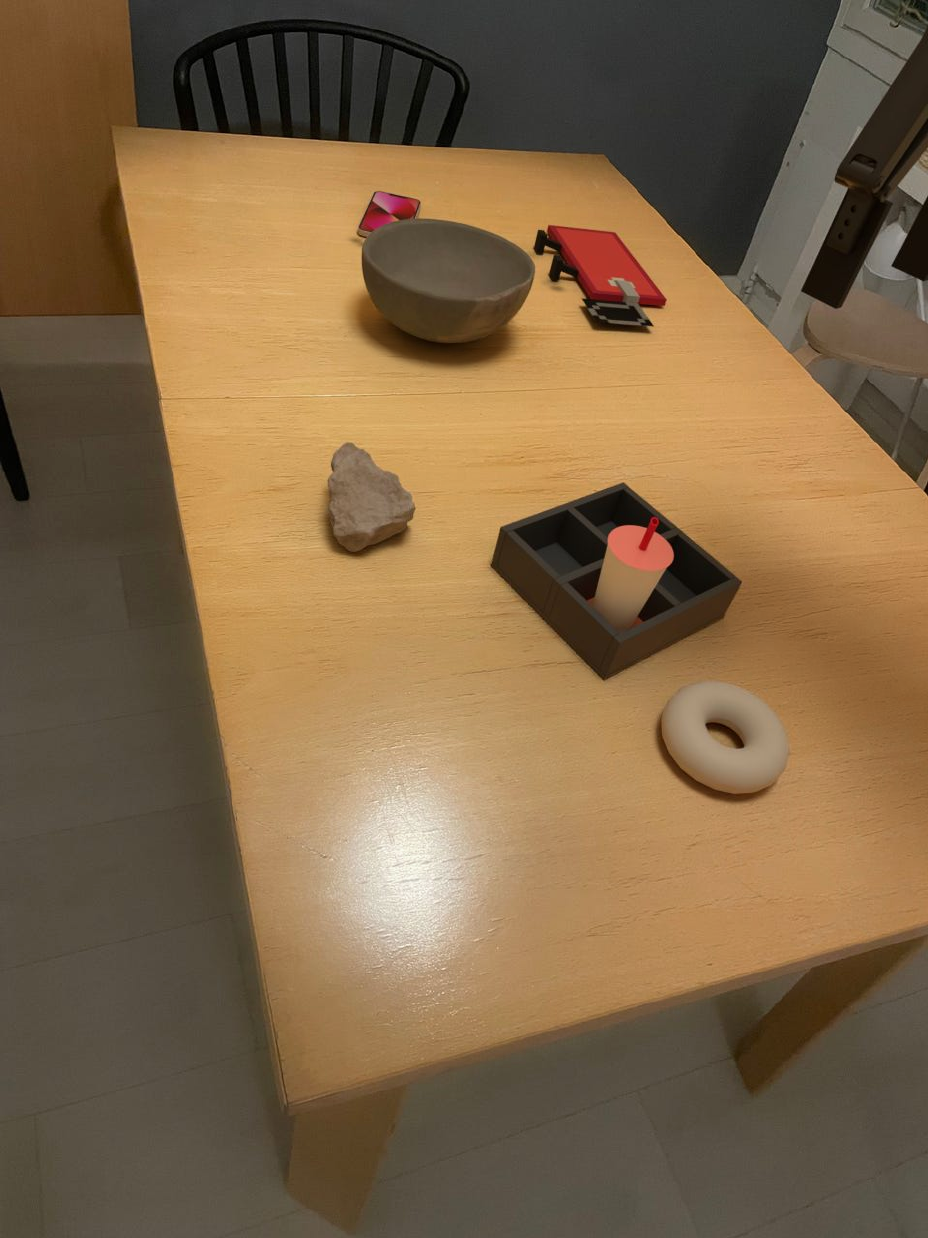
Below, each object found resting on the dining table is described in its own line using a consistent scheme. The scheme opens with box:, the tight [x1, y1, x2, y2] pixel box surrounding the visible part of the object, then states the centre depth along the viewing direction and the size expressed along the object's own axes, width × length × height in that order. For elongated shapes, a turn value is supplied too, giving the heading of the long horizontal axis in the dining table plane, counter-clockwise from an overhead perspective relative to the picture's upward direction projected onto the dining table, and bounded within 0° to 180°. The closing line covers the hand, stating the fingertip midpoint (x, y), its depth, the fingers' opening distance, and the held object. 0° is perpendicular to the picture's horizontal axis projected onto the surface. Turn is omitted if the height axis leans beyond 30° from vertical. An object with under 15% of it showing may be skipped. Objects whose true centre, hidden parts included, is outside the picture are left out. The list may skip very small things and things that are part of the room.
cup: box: [593, 517, 674, 633], centre depth 71 cm, size 5×5×12 cm
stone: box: [327, 441, 416, 553], centre depth 79 cm, size 10×8×6 cm
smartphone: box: [357, 190, 422, 238], centre depth 128 cm, size 7×1×15 cm
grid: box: [490, 481, 743, 681], centre depth 78 cm, size 15×15×5 cm
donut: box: [660, 680, 791, 795], centre depth 68 cm, size 10×4×10 cm
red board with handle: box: [533, 224, 668, 327], centre depth 125 cm, size 30×3×15 cm
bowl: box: [361, 217, 536, 344], centre depth 105 cm, size 20×20×10 cm
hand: (867, 285), depth 61 cm, fingers open, 13 cm apart
